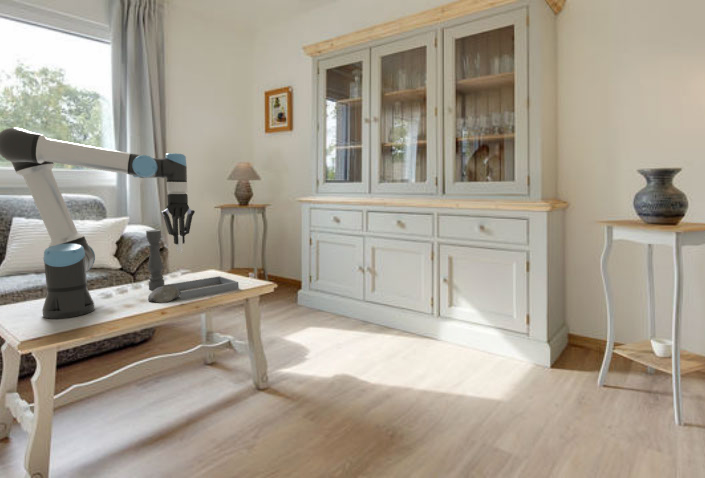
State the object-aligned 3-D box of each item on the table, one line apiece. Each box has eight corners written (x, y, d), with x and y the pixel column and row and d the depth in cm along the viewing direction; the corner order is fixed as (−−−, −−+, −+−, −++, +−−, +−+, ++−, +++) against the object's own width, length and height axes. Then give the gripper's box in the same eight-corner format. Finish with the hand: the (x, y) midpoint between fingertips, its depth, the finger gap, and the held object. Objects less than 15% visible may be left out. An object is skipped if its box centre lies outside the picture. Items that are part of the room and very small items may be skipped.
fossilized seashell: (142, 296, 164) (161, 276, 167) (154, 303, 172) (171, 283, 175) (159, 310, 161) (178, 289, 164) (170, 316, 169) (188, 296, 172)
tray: (181, 299, 167) (180, 291, 167) (164, 291, 179) (164, 284, 179) (238, 288, 184) (238, 281, 184) (220, 282, 196) (219, 276, 196)
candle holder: (167, 286, 188) (164, 229, 185) (159, 290, 182) (156, 231, 179) (154, 286, 188) (150, 229, 185) (145, 290, 182) (142, 231, 179)
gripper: (189, 193, 178) (191, 249, 181) (156, 193, 169) (159, 252, 172) (197, 193, 173) (199, 251, 175) (164, 193, 164) (166, 254, 166)
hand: (179, 251), depth 174 cm, fingers closed
